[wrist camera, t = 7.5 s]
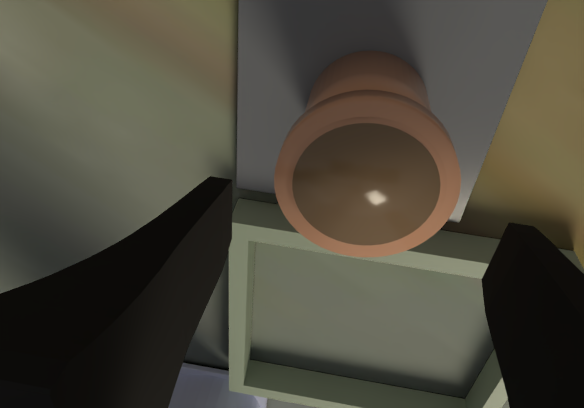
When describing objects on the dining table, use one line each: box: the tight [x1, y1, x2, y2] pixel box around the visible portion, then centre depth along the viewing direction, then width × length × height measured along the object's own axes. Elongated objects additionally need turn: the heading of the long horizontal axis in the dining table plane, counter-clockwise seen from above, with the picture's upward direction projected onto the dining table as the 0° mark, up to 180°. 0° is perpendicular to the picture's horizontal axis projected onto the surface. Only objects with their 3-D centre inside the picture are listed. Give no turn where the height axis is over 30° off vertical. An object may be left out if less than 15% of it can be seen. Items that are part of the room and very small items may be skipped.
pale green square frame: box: [229, 198, 584, 408], centre depth 27 cm, size 17×15×2 cm
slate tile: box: [237, 0, 548, 223], centre depth 19 cm, size 11×11×1 cm
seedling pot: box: [274, 51, 461, 257], centre depth 17 cm, size 6×6×6 cm
